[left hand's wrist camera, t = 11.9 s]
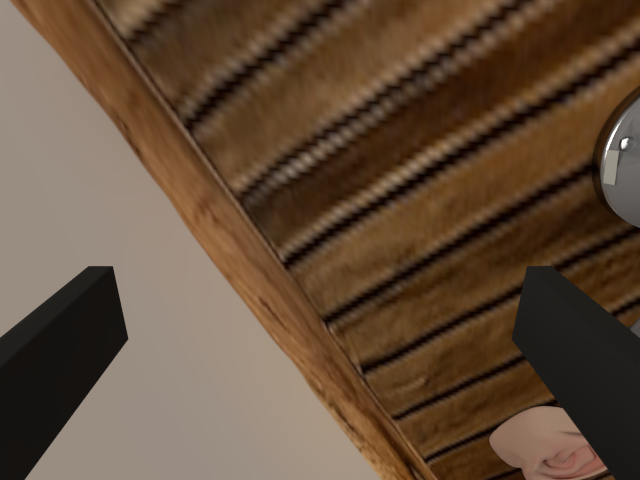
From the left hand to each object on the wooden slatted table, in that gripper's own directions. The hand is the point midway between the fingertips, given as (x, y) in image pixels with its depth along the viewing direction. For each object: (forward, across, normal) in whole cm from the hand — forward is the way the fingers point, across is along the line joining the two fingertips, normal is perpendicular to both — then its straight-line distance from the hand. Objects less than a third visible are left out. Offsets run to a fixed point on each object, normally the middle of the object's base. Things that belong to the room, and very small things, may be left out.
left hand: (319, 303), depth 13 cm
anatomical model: (+28, +29, -37) cm, 55 cm away
